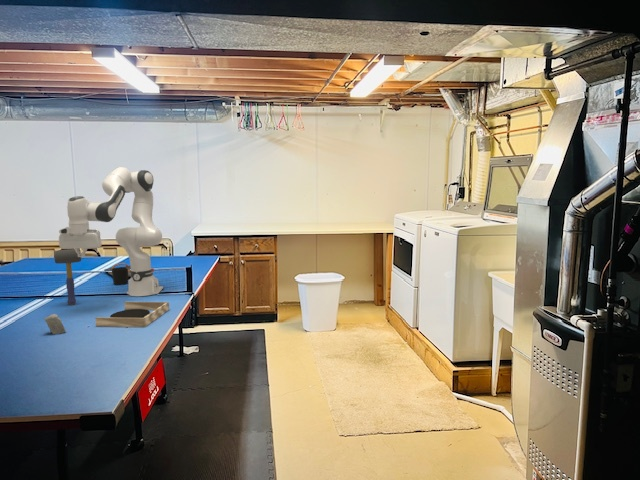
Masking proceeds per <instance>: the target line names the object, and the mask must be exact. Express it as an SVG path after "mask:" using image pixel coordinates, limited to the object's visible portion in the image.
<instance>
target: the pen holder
mask: <svg viewBox="0 0 640 480" xmlns="http://www.w3.org/2000/svg"><path fill="white" fill-rule="evenodd" d="M118 267H119V268H116V267H115V268H113V269H112V275H113V276H112V275H111V276H112V282H113V285H115V286H125V285H127V284H128V285H129V277H128V269H127V268H125V266H118Z"/></svg>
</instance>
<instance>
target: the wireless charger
mask: <svg viewBox="0 0 640 480" xmlns="http://www.w3.org/2000/svg"><path fill="white" fill-rule="evenodd" d="M150 311H151V310H145V309H130V310H125V309H124V310H119V311H116V312H114V313H112V314H110V316H109V317H115V318H144V317H145V316H147V315H148V314H150V313H151V312H150Z"/></svg>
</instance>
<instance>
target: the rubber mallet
mask: <svg viewBox="0 0 640 480" xmlns="http://www.w3.org/2000/svg"><path fill="white" fill-rule="evenodd" d="M79 251H80V252H81V251H82V250H81V249H80V250H79ZM81 253H82V252H81ZM53 255H54V256H53V257H54V263H55V264H65V265H66V266H65V268H66V280H65V281H66V282H65V286H66V291H67V303H68V305H69V306H72V305H75V304H76V302H77V300H76V296H75V295H76V294H75V281H74V278H73V269H72V264H74V263H80V262H82V257H78V254H77V253H76V251H75V248H65V249H61V250H60V249H58V250H55V251H54V253H53Z"/></svg>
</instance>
